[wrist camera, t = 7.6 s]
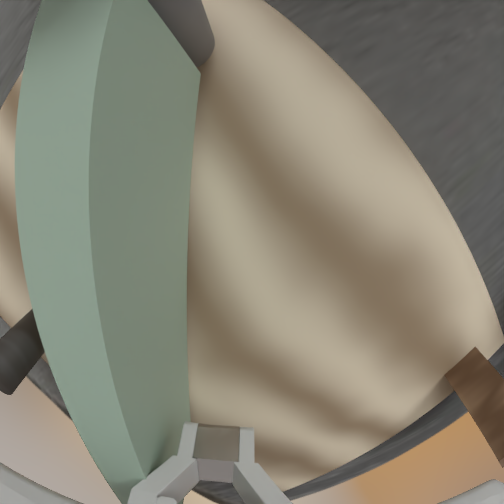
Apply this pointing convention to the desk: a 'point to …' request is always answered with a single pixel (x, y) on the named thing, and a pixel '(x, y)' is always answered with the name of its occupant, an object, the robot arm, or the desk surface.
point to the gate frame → (302, 262)
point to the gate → (112, 216)
